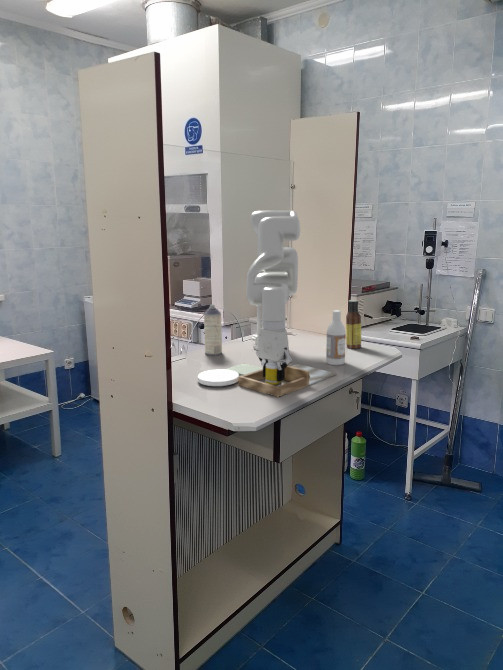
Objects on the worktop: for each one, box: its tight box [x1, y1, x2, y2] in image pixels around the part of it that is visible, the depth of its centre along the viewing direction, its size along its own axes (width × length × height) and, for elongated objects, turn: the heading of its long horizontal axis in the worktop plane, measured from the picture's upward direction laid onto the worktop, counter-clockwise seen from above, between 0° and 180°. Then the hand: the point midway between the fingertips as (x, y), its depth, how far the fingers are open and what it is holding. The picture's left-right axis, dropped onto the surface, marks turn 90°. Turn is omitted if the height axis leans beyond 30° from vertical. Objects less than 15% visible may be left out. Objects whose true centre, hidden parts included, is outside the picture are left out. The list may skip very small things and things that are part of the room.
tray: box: [226, 363, 263, 376], centre depth 191 cm, size 12×10×2 cm
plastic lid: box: [197, 368, 239, 387], centre depth 183 cm, size 14×14×2 cm
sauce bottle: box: [345, 299, 362, 350], centre depth 223 cm, size 6×6×20 cm
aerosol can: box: [203, 304, 223, 357], centre depth 216 cm, size 7×7×20 cm
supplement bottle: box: [265, 360, 283, 386], centre depth 177 cm, size 5×5×10 cm
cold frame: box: [238, 363, 337, 398], centre depth 183 cm, size 17×31×5 cm, turn 136°
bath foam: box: [325, 309, 346, 366], centre depth 200 cm, size 7×7×20 cm
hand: (273, 378), depth 178 cm, fingers closed on supplement bottle, 5 cm apart
